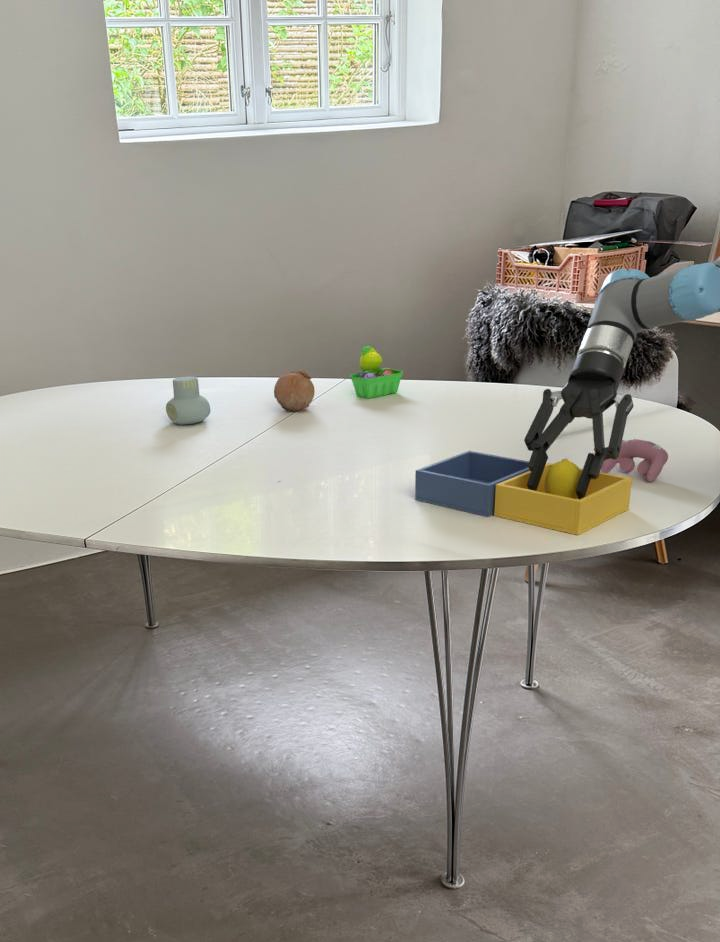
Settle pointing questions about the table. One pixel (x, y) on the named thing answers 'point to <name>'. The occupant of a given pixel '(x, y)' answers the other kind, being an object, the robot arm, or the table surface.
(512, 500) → the yellow bin
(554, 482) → the lemon
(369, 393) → the fruit basket
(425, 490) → the blue bin
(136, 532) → the table surface
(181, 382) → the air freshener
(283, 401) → the onion
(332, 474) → the table surface
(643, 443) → the video game controller
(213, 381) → the table surface
